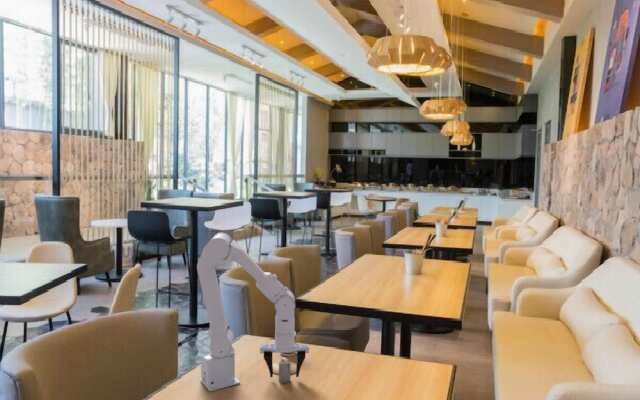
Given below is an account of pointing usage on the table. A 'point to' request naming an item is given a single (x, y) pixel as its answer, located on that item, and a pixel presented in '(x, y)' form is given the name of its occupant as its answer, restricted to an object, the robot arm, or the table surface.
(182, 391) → the table surface
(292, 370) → the coaster
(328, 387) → the table surface
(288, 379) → the plug
